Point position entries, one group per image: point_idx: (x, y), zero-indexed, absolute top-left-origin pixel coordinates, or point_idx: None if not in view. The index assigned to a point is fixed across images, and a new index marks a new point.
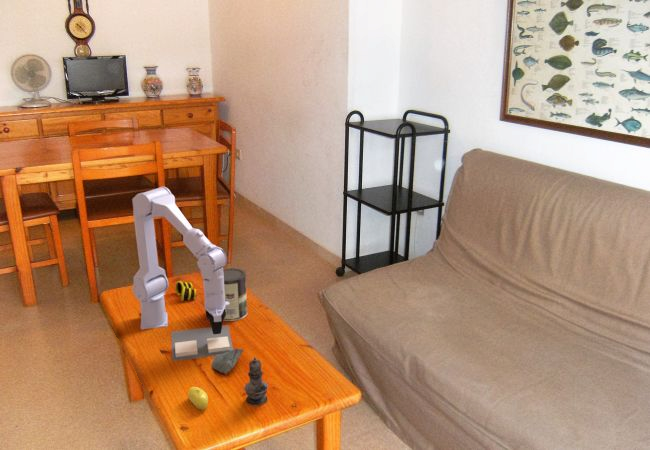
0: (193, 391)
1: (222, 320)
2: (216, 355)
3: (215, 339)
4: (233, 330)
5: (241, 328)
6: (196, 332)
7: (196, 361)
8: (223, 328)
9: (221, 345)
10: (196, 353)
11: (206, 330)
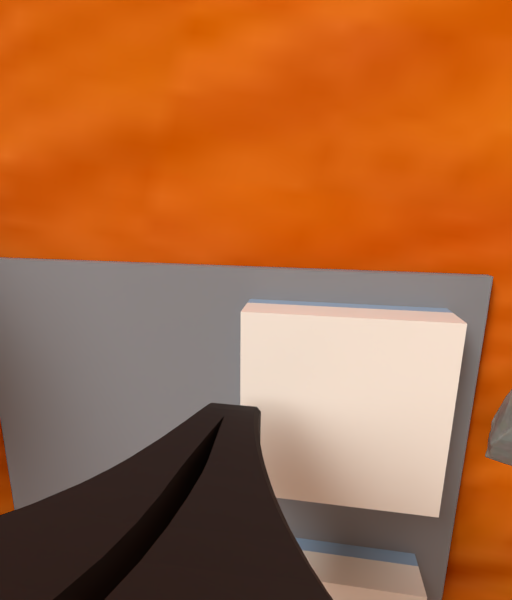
0: None
1: (295, 552)
2: (503, 440)
3: (273, 429)
4: (55, 218)
5: (29, 141)
6: None
7: (476, 564)
8: (25, 301)
9: (412, 398)
10: (419, 580)
11: (41, 430)
